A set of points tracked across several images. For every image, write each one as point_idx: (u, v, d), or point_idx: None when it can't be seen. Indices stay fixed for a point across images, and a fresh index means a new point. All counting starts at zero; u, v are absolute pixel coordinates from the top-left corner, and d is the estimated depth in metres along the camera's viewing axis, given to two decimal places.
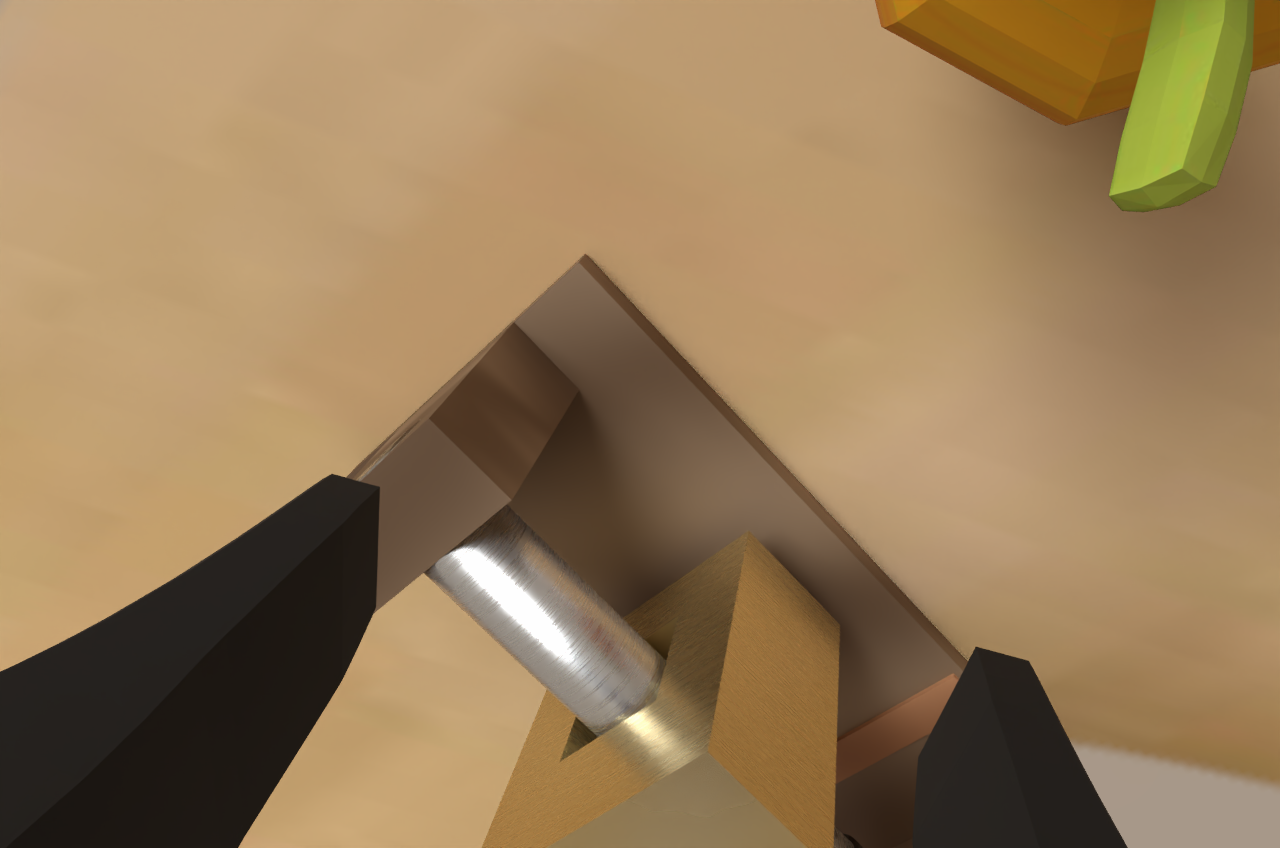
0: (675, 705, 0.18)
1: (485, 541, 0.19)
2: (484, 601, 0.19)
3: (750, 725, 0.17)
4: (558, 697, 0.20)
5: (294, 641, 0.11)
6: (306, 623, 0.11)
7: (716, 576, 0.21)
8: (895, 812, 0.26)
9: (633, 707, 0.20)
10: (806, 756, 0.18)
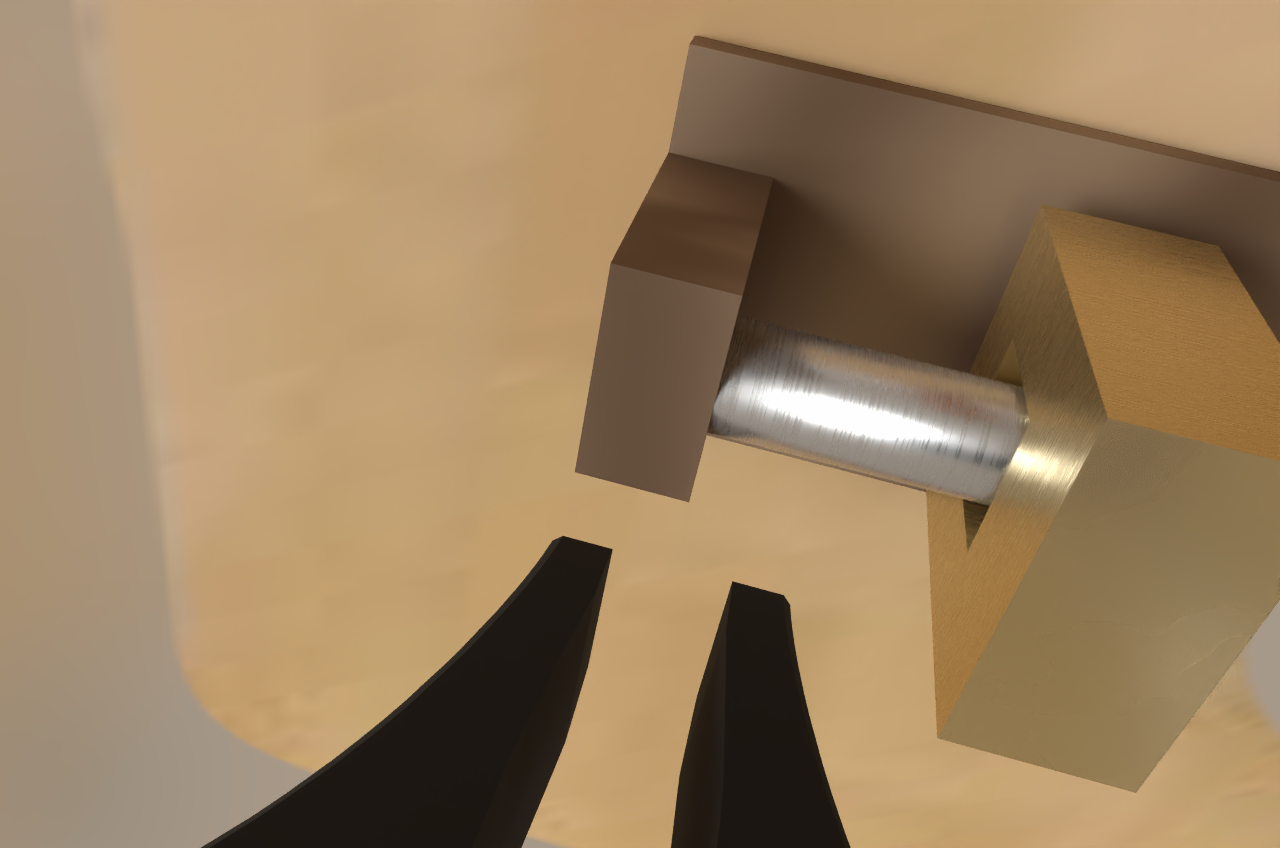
0: (1051, 409, 0.14)
1: (747, 361, 0.16)
2: (784, 424, 0.16)
3: (1152, 375, 0.13)
4: (925, 485, 0.17)
5: (552, 712, 0.11)
6: (561, 694, 0.11)
7: (1032, 269, 0.17)
8: None
9: (1013, 449, 0.16)
10: (1251, 380, 0.14)
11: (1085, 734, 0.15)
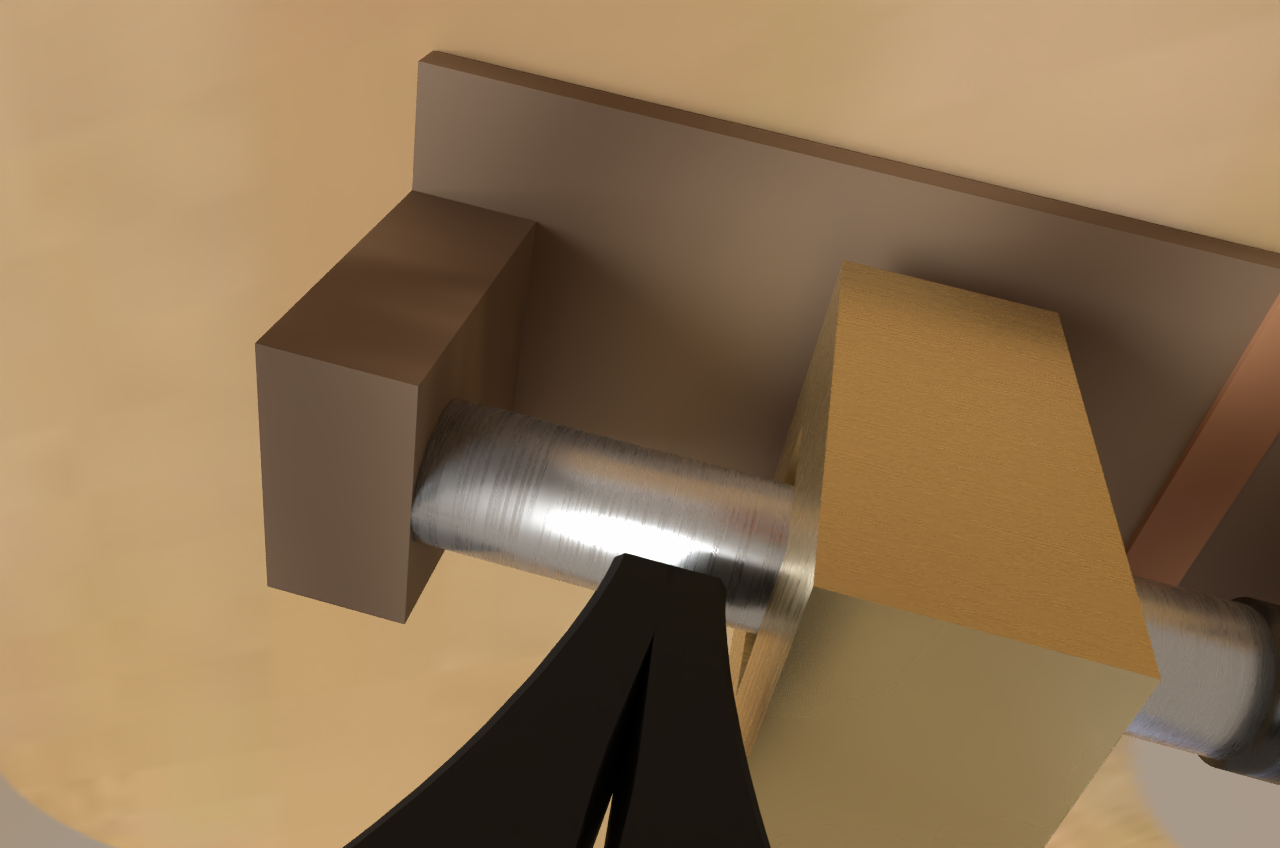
0: (796, 542, 0.11)
1: (449, 460, 0.13)
2: (497, 538, 0.13)
3: (903, 511, 0.10)
4: None
5: (623, 732, 0.11)
6: (630, 713, 0.11)
7: (824, 343, 0.14)
8: None
9: (776, 574, 0.13)
10: (1042, 514, 0.10)
11: None
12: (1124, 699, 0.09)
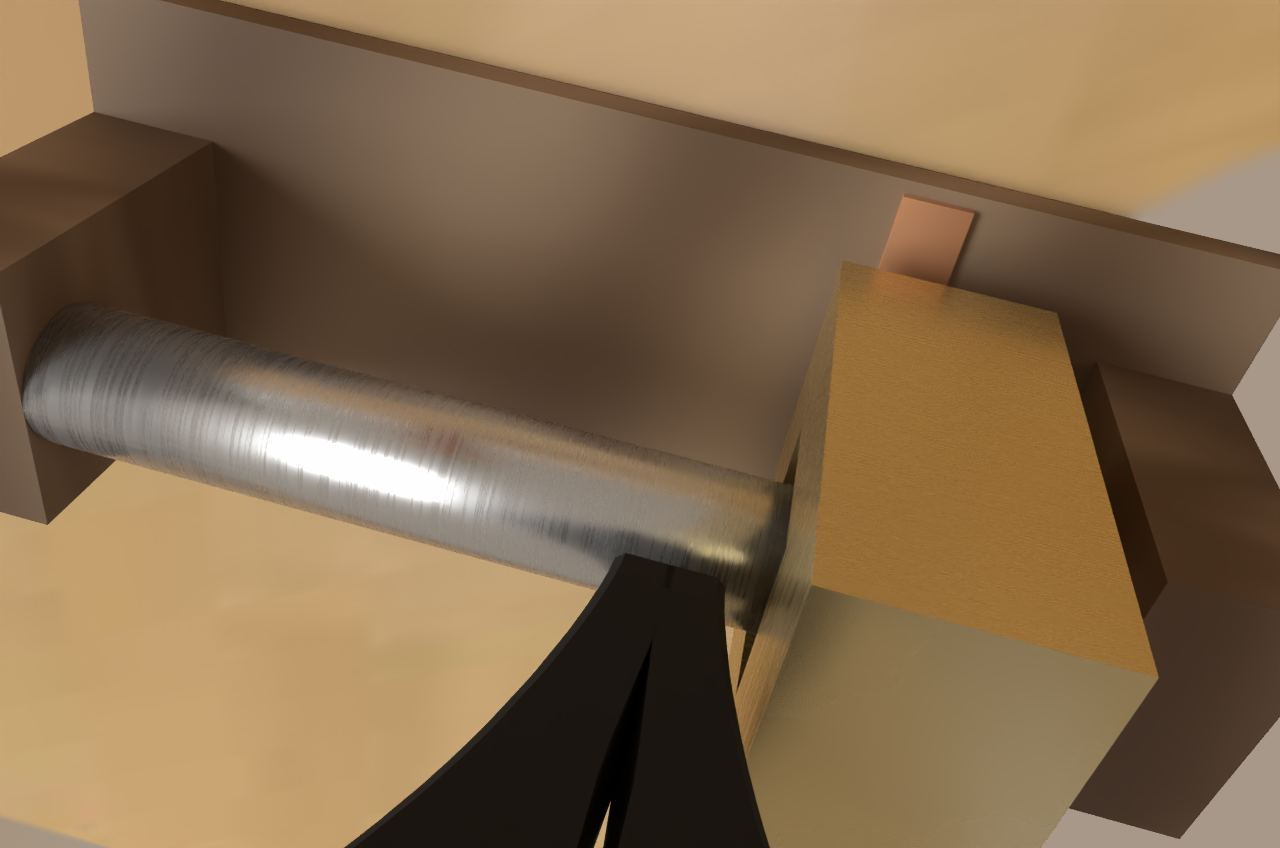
0: (795, 541, 0.11)
1: (55, 356, 0.13)
2: (105, 432, 0.14)
3: (902, 511, 0.10)
4: (292, 506, 0.14)
5: (623, 732, 0.11)
6: (631, 713, 0.11)
7: (823, 343, 0.14)
8: None
9: (363, 463, 0.13)
10: (1040, 513, 0.10)
11: None
12: (1123, 697, 0.09)
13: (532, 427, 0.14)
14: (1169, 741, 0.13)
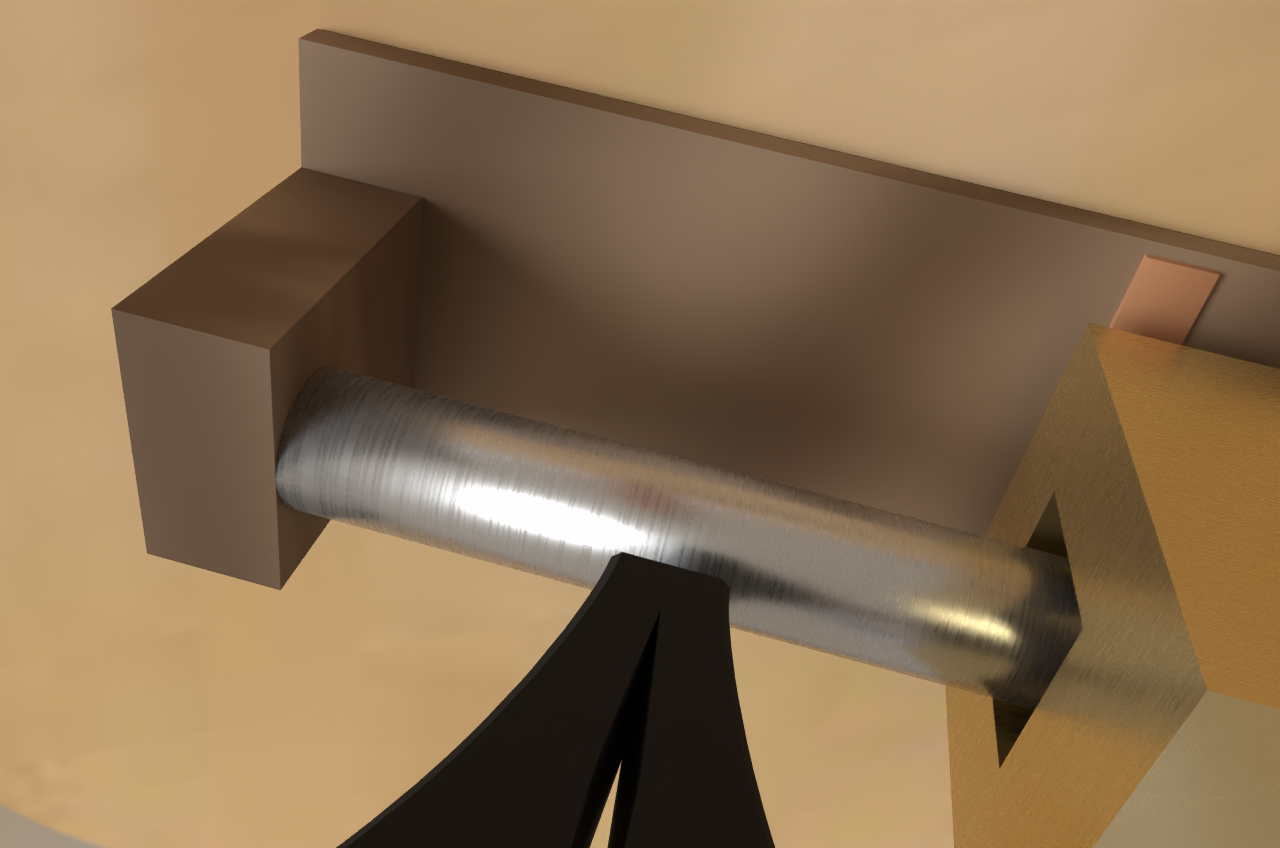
0: (1115, 626, 0.11)
1: (311, 426, 0.13)
2: (360, 502, 0.13)
3: (1256, 603, 0.10)
4: (542, 575, 0.14)
5: (620, 731, 0.11)
6: (627, 712, 0.11)
7: (1077, 408, 0.14)
8: None
9: (628, 535, 0.13)
10: None
11: None
12: None
13: (791, 496, 0.13)
14: None
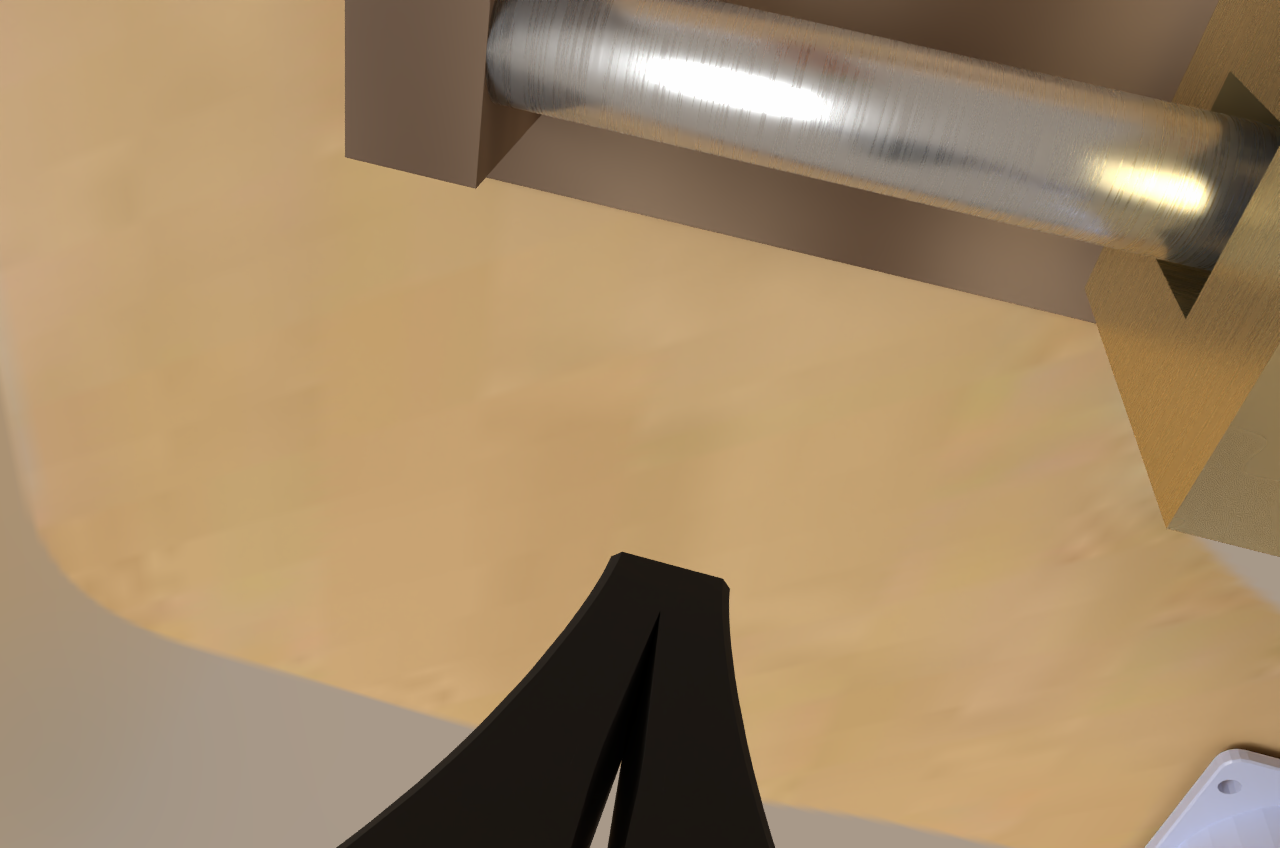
0: None
1: None
2: (568, 68, 0.14)
3: None
4: (739, 147, 0.14)
5: (620, 731, 0.11)
6: (627, 712, 0.11)
7: None
8: None
9: (833, 86, 0.13)
10: None
11: None
12: None
13: (983, 60, 0.14)
14: None
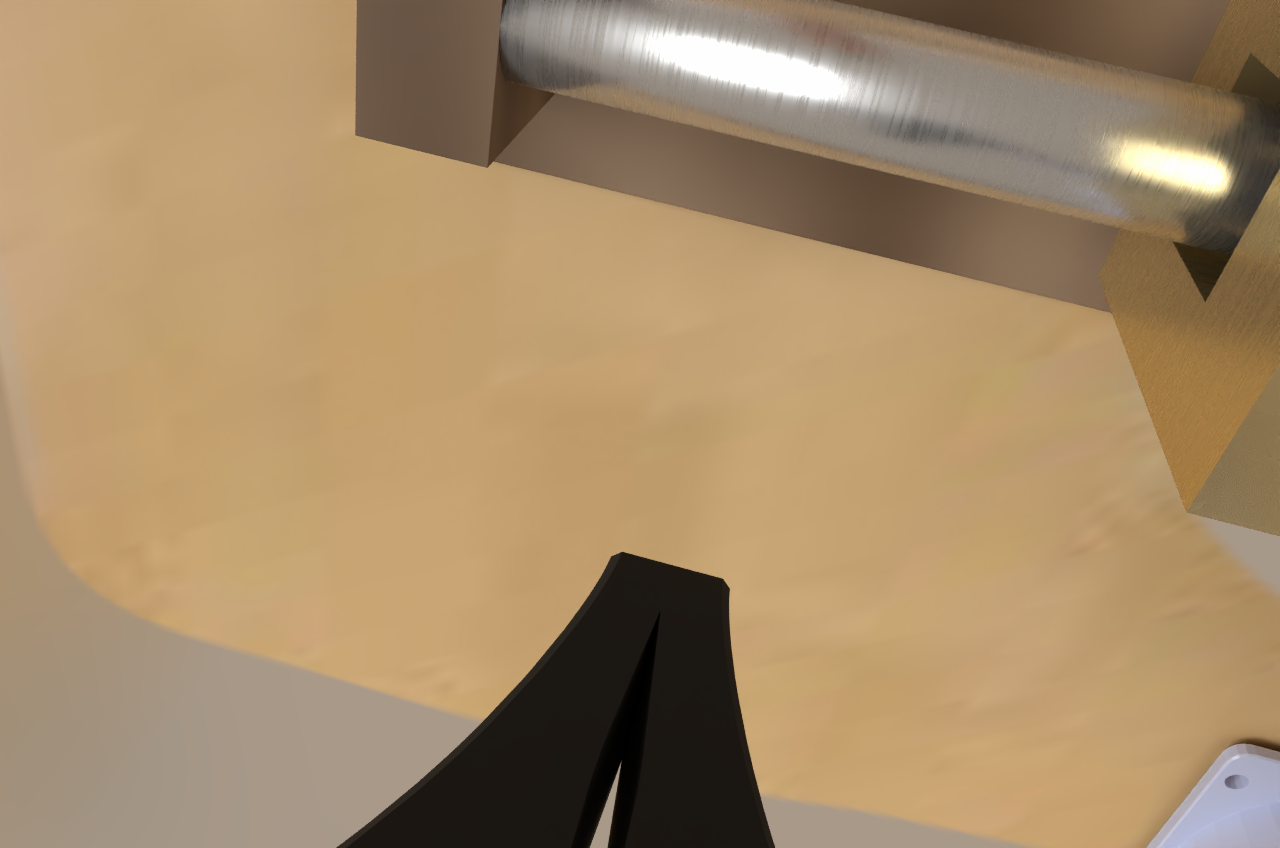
0: None
1: None
2: (583, 45, 0.14)
3: None
4: (755, 126, 0.14)
5: (619, 731, 0.11)
6: (627, 712, 0.11)
7: None
8: None
9: (851, 63, 0.13)
10: None
11: None
12: None
13: (1002, 40, 0.14)
14: None
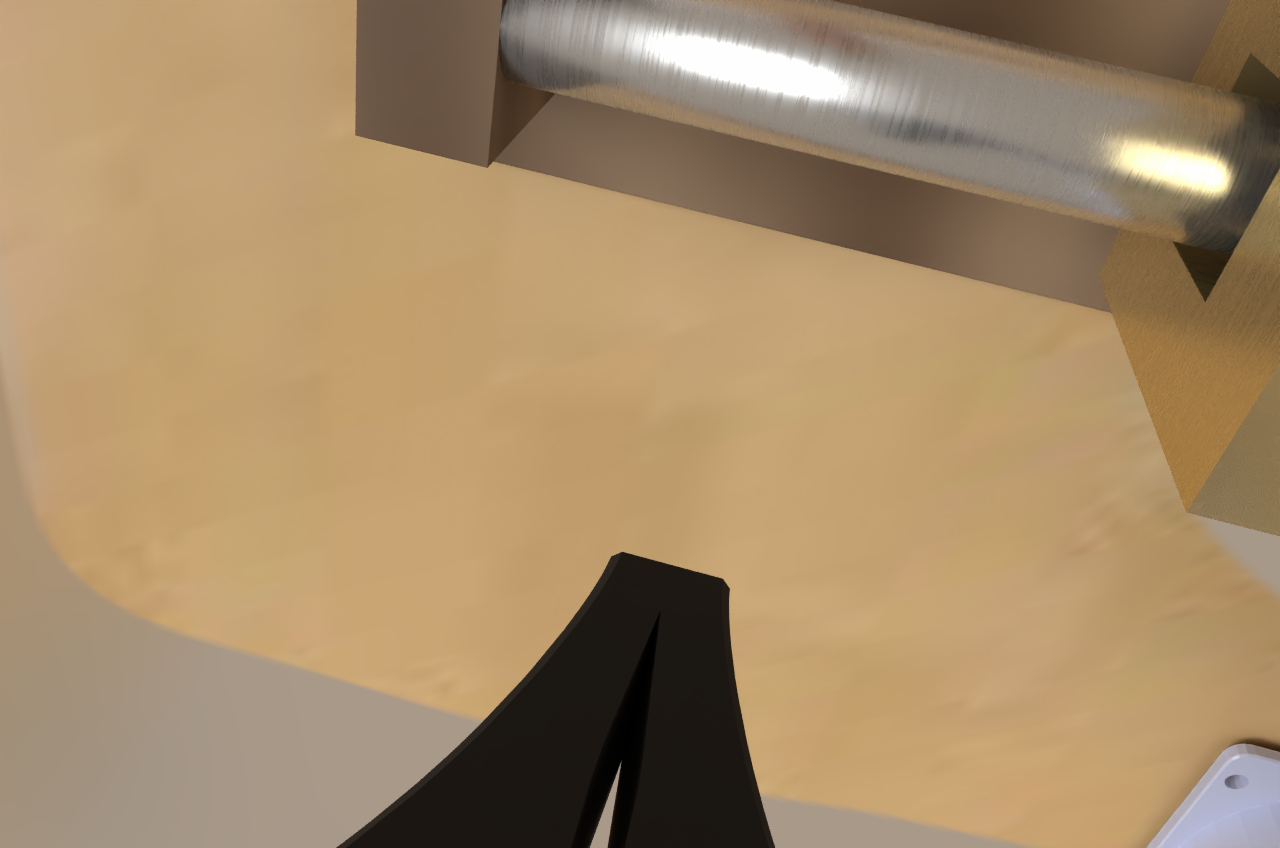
0: None
1: None
2: (583, 45, 0.14)
3: None
4: (755, 126, 0.14)
5: (619, 731, 0.11)
6: (627, 712, 0.11)
7: None
8: None
9: (851, 63, 0.13)
10: None
11: None
12: None
13: (1002, 40, 0.14)
14: None
